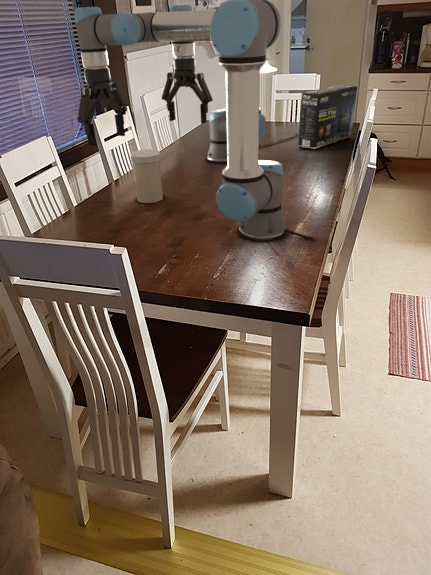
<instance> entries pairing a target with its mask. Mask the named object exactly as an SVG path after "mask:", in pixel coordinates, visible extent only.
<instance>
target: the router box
mask: <svg viewBox="0 0 431 575" xmlns="http://www.w3.org/2000/svg"><path fill="white" fill-rule="evenodd" d="M357 93H358V86H356V85H350V84H339V85H338V84H337V85H334V86H328V87H324V88H318V89H314V90H309V91H304V92H301V93H300V109H299V110H300V111H299V124H298V132H299V134H298V137H297V146H298V145H302V146H307V147H317V146H320V145H323V144H325V143H328V142H331V141H333V140H336V139H338V138H341V137H344V136H347V135H351V136H352V133H353V132H352V131H353V125H354V115H355V109H356V99H357ZM311 151H313V150H312V149H311Z"/></svg>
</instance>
